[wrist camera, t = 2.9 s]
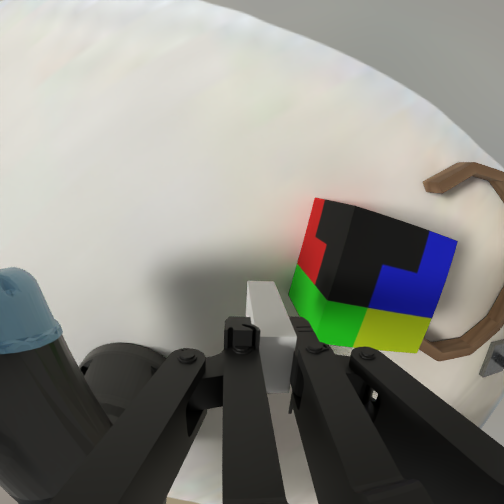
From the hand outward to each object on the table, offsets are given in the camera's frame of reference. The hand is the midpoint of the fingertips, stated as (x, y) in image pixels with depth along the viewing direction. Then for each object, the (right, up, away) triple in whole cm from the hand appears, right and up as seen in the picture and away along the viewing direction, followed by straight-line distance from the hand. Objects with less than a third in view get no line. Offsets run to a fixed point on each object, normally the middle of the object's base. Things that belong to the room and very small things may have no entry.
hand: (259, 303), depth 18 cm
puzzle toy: (+9, +2, +13) cm, 16 cm away
